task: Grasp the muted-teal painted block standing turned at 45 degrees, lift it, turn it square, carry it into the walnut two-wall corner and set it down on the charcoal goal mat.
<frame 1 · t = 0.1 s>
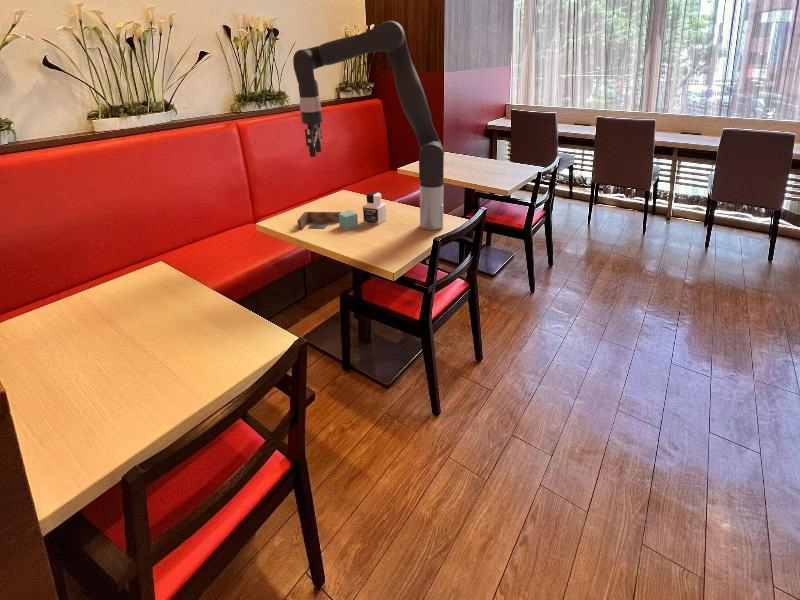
hand: (315, 154, 187), 29 cm above the table, fingers open, 8 cm apart
arena: (323, 225, 202), on the table
medicine bottle: (375, 221, 204), on the table
block: (348, 226, 200), on the table
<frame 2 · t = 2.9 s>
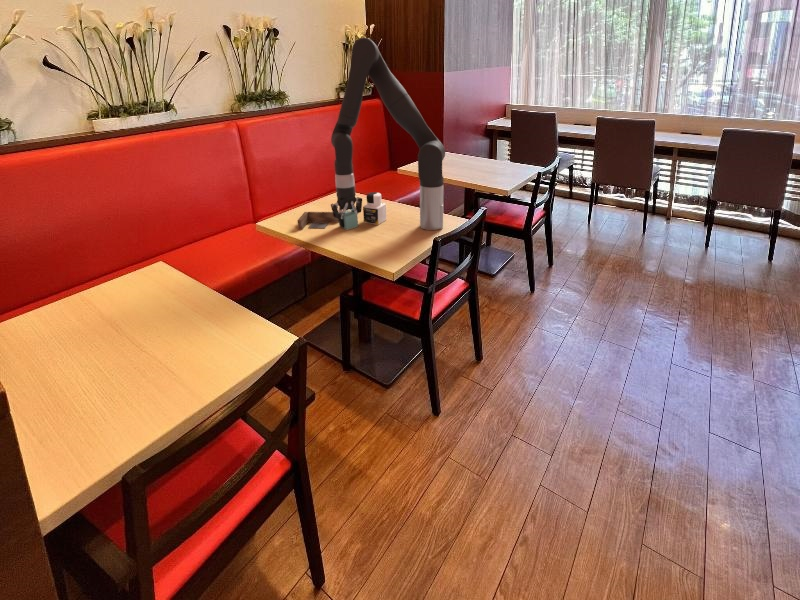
hand: (348, 225, 199), 1 cm above the table, fingers closed on block, 5 cm apart
block: (348, 226, 200), on the table, touching gripper
everything else where it was.
when the fingers open (2 cm above the table, at t = 8.2 s): block drops 1 cm, resting on arena.
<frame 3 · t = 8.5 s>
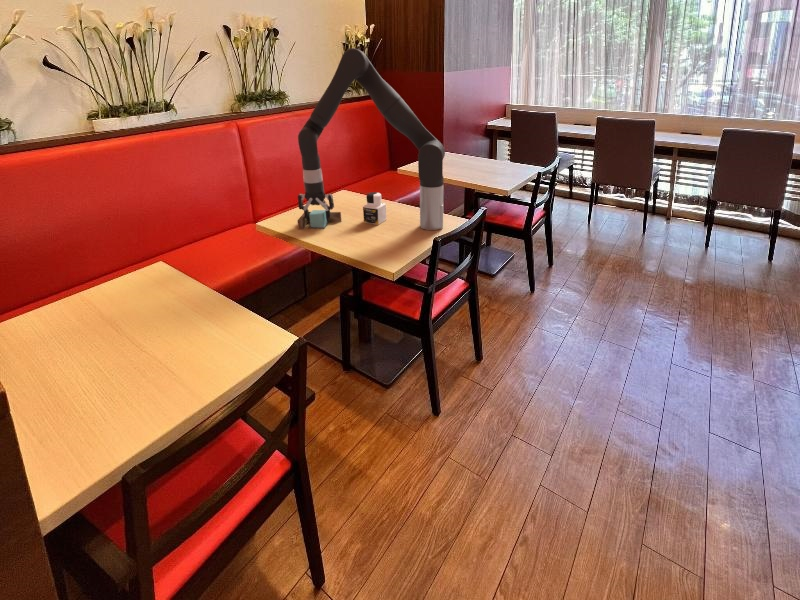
hand: (317, 218, 200), 3 cm above the table, fingers open, 8 cm apart
block: (319, 225, 202), resting on arena
everything else where it was.
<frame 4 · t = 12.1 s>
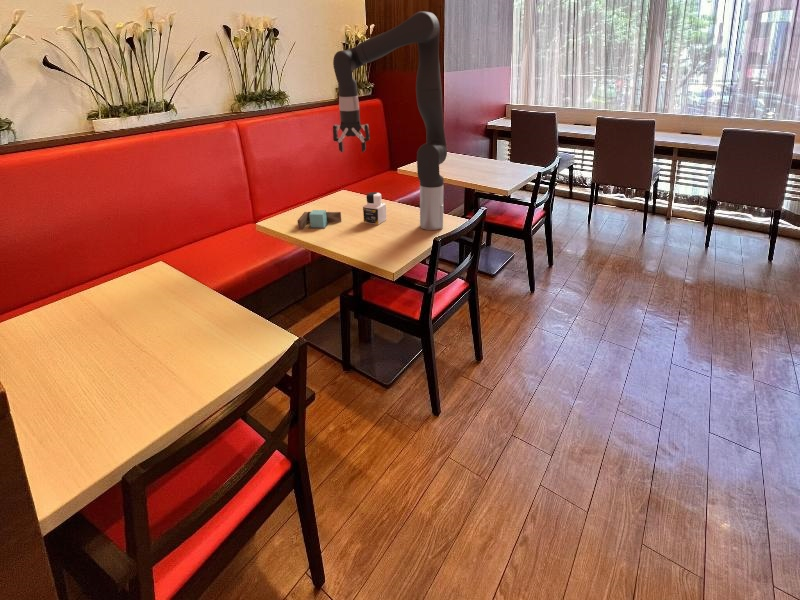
hand: (352, 151, 194), 28 cm above the table, fingers open, 8 cm apart
nothing on the table moved.
at the end: block inside the target area (0.5 cm from its centre), resting on arena; block tilted 0°; the gripper is holding nothing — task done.
